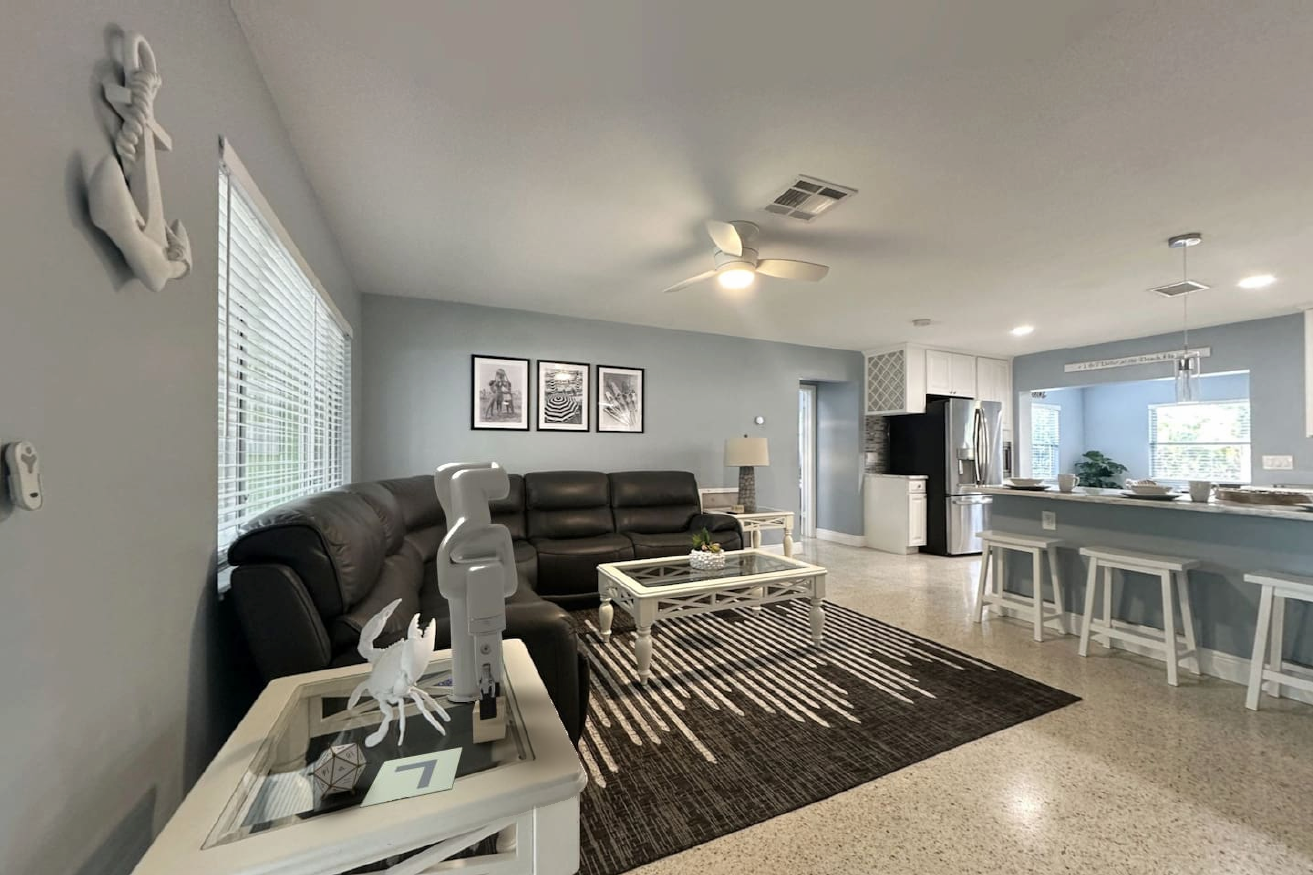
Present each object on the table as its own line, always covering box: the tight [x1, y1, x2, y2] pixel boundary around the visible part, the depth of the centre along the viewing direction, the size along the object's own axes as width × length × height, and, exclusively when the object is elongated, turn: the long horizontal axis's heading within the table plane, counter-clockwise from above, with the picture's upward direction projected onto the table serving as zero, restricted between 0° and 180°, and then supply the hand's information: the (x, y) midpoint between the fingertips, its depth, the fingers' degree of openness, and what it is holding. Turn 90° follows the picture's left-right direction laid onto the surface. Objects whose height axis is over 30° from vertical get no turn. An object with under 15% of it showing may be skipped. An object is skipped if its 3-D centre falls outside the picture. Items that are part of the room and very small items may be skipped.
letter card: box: [359, 747, 463, 808], centre depth 90 cm, size 14×14×1 cm
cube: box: [472, 695, 507, 744], centre depth 104 cm, size 6×6×6 cm
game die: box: [306, 737, 373, 801], centre depth 86 cm, size 9×8×10 cm
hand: (490, 709), depth 103 cm, fingers open, 9 cm apart
